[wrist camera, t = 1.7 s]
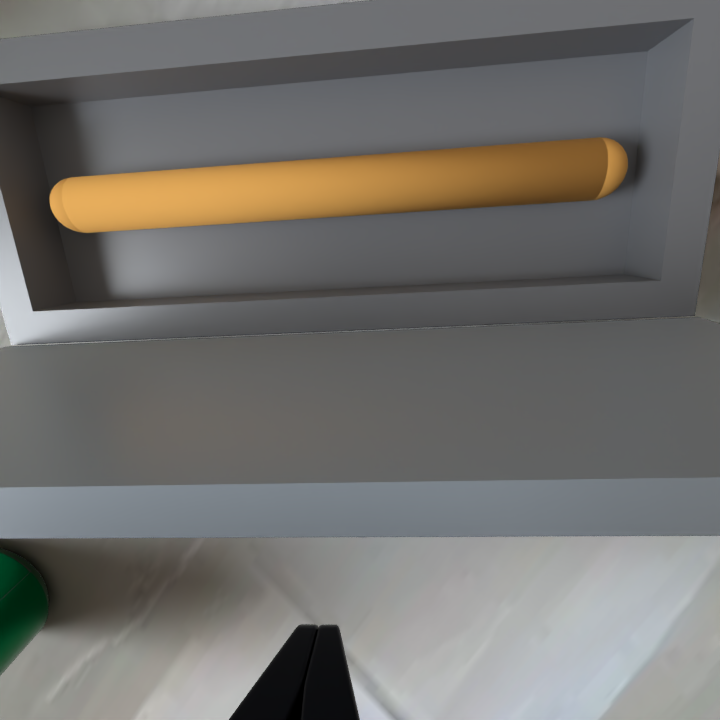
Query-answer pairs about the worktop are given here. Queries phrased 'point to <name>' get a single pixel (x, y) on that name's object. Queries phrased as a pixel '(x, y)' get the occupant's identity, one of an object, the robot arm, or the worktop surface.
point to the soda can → (19, 605)
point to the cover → (367, 434)
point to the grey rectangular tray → (353, 138)
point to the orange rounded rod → (343, 186)
